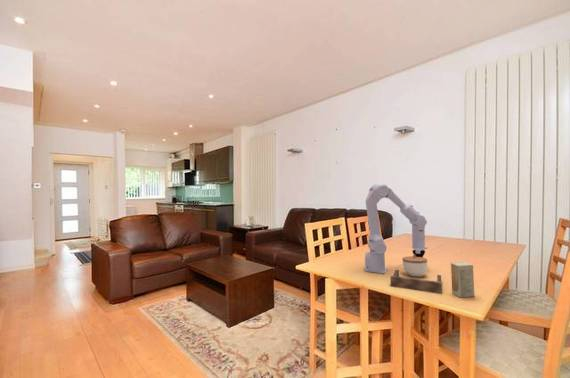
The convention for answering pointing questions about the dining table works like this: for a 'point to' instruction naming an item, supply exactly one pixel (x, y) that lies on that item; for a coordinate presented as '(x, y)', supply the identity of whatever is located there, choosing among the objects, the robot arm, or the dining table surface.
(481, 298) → the dining table surface
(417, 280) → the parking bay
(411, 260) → the lidded jar
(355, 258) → the dining table surface
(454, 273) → the skincare box
